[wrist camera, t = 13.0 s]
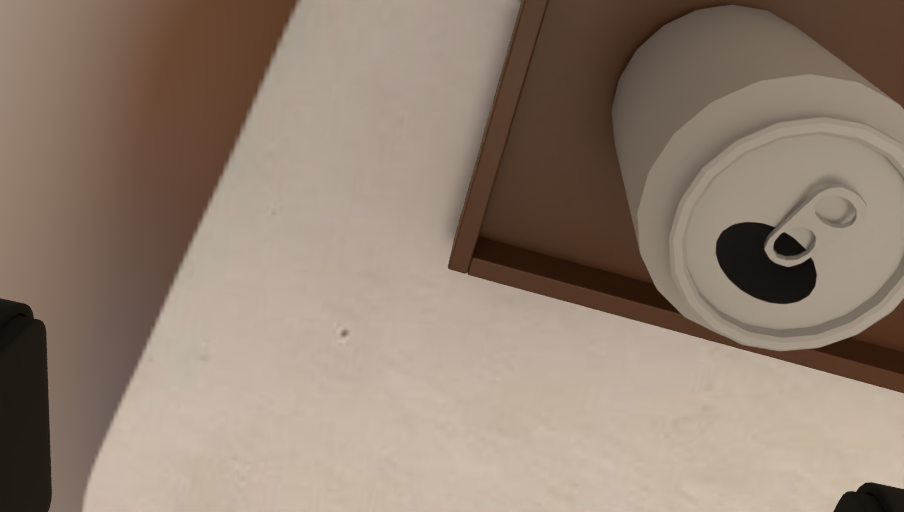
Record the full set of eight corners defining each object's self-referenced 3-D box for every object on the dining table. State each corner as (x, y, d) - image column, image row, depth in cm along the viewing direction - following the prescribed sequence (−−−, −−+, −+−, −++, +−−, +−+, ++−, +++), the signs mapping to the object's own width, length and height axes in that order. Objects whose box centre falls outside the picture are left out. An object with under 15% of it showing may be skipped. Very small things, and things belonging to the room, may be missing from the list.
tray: (453, 240, 35) (447, 269, 33) (579, -202, 28) (582, -205, 26) (1041, 401, 36) (1075, 440, 34) (1316, 11, 29) (1385, 26, 26)
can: (567, 125, 32) (580, 270, 21) (707, -46, 29) (804, 24, 18) (718, 236, 33) (801, 426, 23) (866, 85, 30) (1044, 221, 20)
